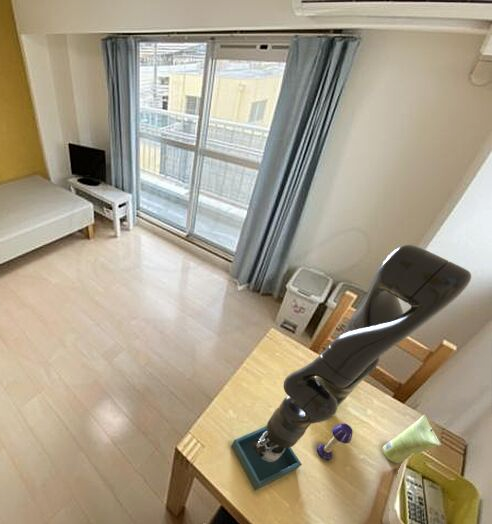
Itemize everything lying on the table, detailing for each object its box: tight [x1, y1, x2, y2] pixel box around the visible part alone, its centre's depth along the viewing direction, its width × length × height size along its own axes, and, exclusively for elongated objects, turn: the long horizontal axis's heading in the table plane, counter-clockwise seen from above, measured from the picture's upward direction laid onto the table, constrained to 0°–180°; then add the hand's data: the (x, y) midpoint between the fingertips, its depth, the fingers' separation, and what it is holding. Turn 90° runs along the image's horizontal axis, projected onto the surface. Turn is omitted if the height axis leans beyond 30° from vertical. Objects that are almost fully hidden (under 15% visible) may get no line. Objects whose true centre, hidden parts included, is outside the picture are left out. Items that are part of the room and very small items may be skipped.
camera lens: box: [260, 431, 285, 462], centre depth 85 cm, size 6×6×8 cm
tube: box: [382, 414, 442, 464], centre depth 85 cm, size 6×5×20 cm
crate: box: [230, 425, 303, 492], centre depth 88 cm, size 15×12×5 cm
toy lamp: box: [316, 422, 354, 461], centre depth 86 cm, size 5×5×17 cm
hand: (269, 448), depth 86 cm, fingers closed on camera lens, 6 cm apart
